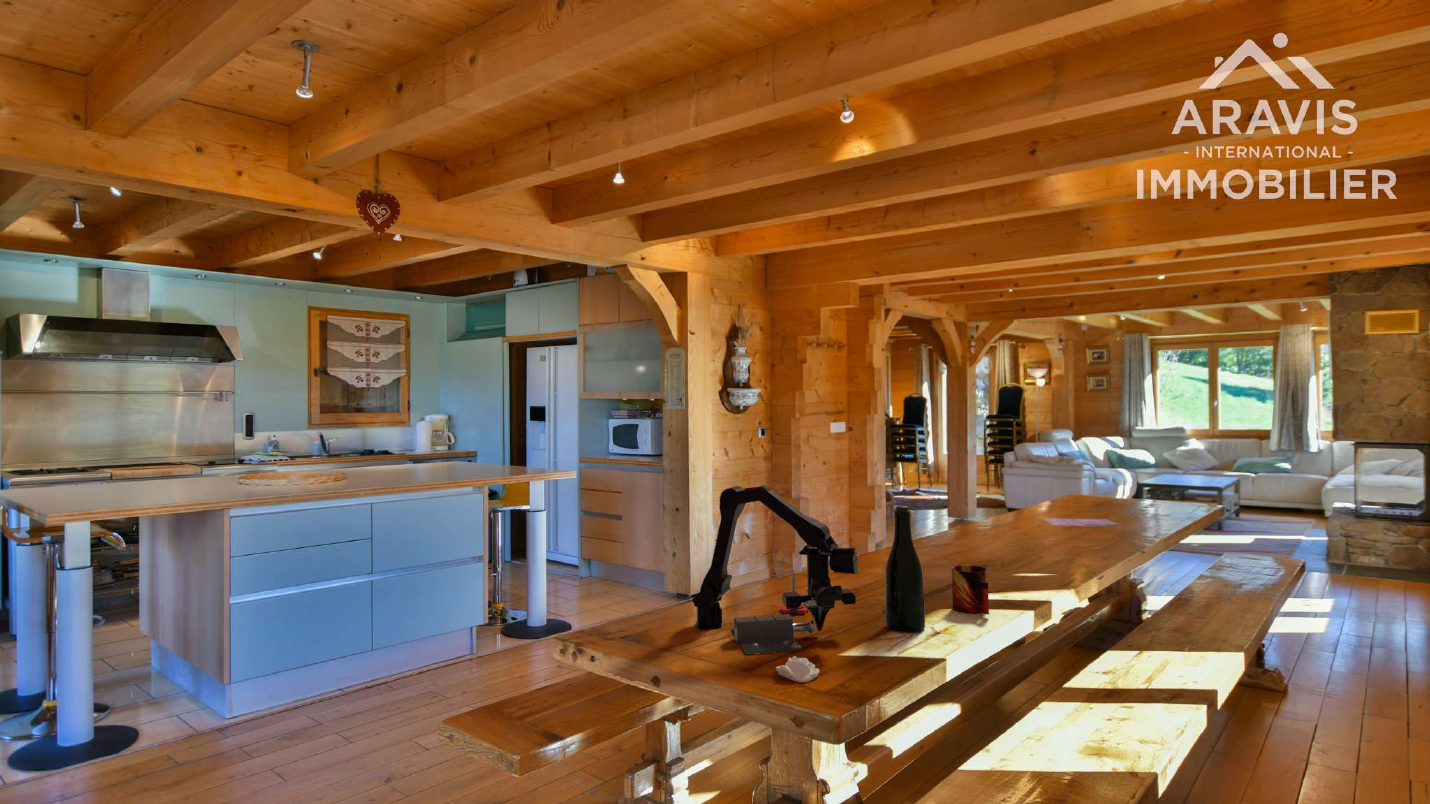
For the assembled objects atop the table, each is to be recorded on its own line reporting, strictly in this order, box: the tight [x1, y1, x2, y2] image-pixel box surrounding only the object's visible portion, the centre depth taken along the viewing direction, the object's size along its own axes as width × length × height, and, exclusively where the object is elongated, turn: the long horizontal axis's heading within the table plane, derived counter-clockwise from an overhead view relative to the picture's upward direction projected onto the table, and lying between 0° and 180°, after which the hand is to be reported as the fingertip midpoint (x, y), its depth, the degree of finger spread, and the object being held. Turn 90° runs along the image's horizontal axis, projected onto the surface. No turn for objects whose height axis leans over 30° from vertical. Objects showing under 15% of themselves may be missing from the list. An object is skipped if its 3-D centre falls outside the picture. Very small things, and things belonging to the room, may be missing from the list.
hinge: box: [731, 613, 803, 656], centre depth 208 cm, size 15×23×6 cm, turn 8°
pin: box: [793, 619, 816, 635], centre depth 209 cm, size 15×3×3 cm, turn 98°
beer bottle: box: [884, 505, 926, 633], centre depth 215 cm, size 10×10×33 cm
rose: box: [775, 655, 820, 683], centre depth 181 cm, size 10×4×10 cm
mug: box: [951, 564, 990, 615], centre depth 230 cm, size 10×14×12 cm
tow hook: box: [780, 569, 810, 615], centre depth 236 cm, size 8×13×9 cm
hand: (819, 630), depth 210 cm, fingers closed
